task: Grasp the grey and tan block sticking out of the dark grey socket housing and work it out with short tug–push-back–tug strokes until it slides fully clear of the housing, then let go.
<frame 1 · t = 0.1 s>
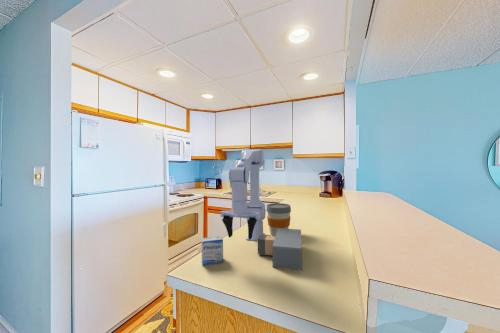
hand: (240, 237, 73), 10 cm above the counter, fingers open, 7 cm apart
reusable coffee cup: (279, 234, 104), on the counter
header: (288, 255, 80), on the counter
grey and tan block: (275, 245, 81), point 4 cm above the counter, slide at 0.0 cm
medicine box: (212, 261, 76), on the counter
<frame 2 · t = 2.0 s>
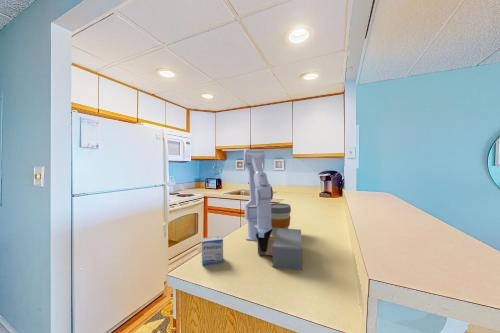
hand: (264, 248, 82), 2 cm above the counter, fingers closed on grey and tan block, 4 cm apart
grey and tan block: (275, 245, 81), point 4 cm above the counter, slide at 0.0 cm, touching gripper
everything else where it was.
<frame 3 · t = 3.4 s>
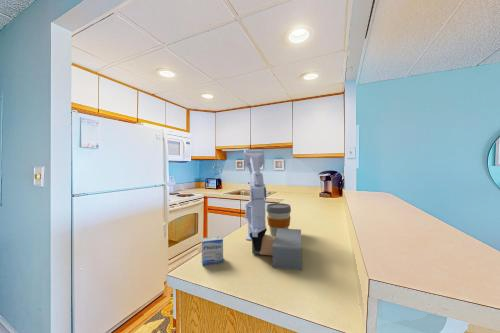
hand: (258, 248, 82), 2 cm above the counter, fingers closed on grey and tan block, 4 cm apart
grey and tan block: (270, 245, 81), point 4 cm above the counter, slide at 2.3 cm, touching gripper
everything else where it was.
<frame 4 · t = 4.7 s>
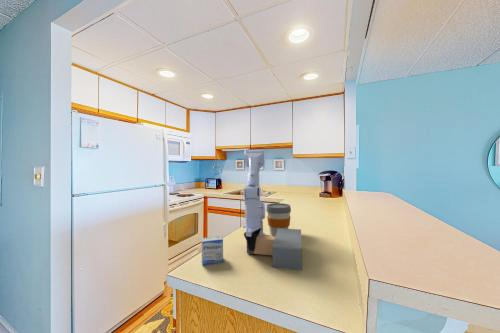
hand: (253, 248, 83), 2 cm above the counter, fingers closed on grey and tan block, 4 cm apart
grey and tan block: (264, 245, 82), point 4 cm above the counter, slide at 4.5 cm, touching gripper
everything else where it was.
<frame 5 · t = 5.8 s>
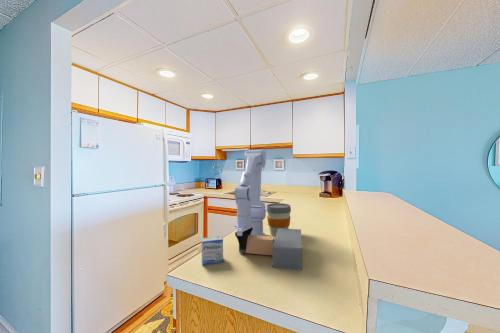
hand: (244, 247, 84), 2 cm above the counter, fingers closed on grey and tan block, 4 cm apart
grey and tan block: (256, 244, 83), point 4 cm above the counter, slide at 7.8 cm, touching gripper
everything else where it was.
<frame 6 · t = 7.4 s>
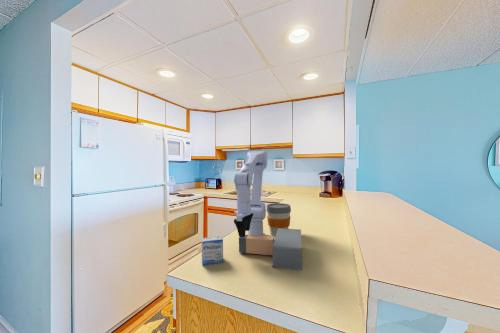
hand: (244, 233, 84), 8 cm above the counter, fingers open, 7 cm apart
grey and tan block: (256, 244, 83), point 4 cm above the counter, slide at 7.8 cm
everything else where it was.
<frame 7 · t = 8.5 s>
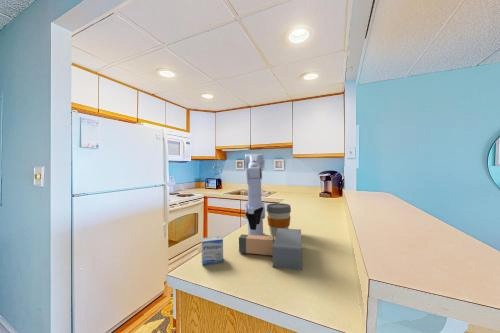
hand: (255, 226, 86), 10 cm above the counter, fingers open, 7 cm apart
nothing on the counter moved.
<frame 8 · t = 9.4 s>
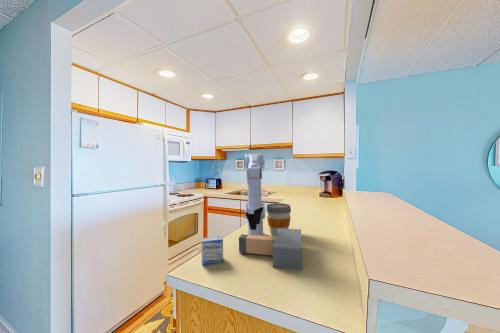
hand: (255, 226, 86), 10 cm above the counter, fingers open, 7 cm apart
nothing on the counter moved.
at the end: grey and tan block slide at 7.8 cm; the gripper is holding nothing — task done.
